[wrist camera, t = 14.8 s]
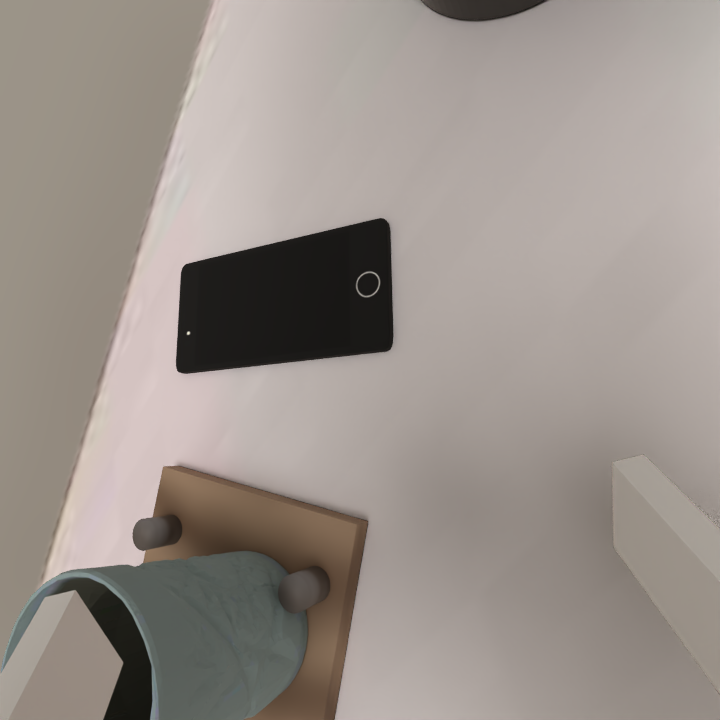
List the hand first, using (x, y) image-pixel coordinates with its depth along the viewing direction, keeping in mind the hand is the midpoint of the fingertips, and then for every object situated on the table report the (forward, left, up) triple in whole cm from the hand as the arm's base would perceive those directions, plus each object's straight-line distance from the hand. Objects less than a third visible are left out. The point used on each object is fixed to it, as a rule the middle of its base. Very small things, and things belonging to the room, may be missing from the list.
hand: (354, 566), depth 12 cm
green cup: (+10, -14, -16) cm, 23 cm away
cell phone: (-10, -17, -18) cm, 27 cm away
